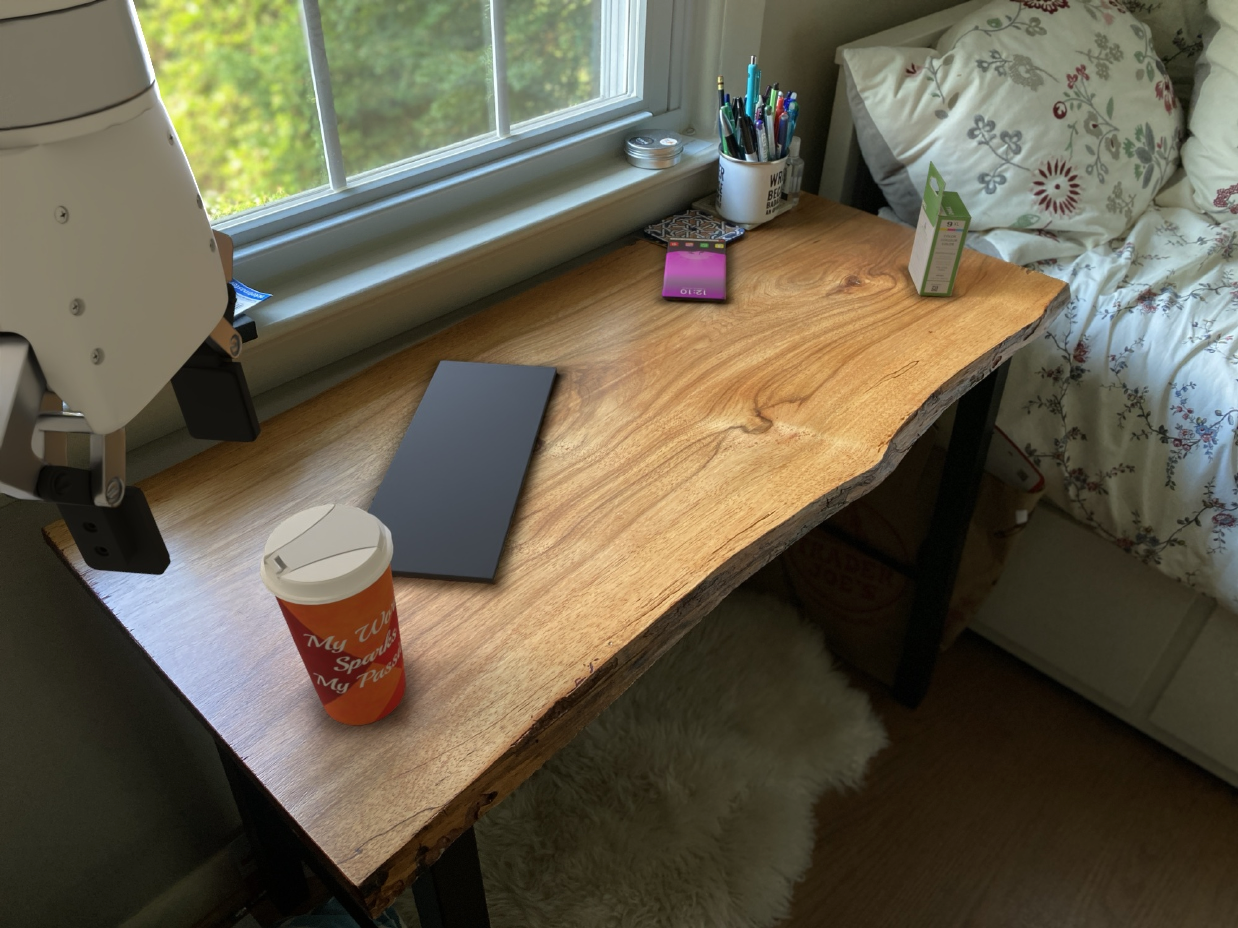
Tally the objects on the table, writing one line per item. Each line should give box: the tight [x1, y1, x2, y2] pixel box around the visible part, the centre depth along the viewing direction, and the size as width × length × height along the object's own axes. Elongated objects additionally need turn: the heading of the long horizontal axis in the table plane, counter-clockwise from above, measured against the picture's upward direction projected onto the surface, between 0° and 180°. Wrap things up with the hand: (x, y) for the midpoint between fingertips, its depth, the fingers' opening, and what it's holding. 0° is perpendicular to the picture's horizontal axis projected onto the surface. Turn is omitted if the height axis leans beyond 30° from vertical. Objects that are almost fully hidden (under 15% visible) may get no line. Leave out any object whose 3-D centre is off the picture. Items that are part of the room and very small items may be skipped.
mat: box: [366, 360, 558, 585], centre depth 83 cm, size 30×12×1 cm, turn 174°
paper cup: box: [259, 503, 407, 726], centre depth 59 cm, size 8×8×14 cm
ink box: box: [907, 160, 972, 298], centre depth 105 cm, size 7×4×13 cm, turn 177°
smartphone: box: [661, 236, 727, 303], centre depth 111 cm, size 7×15×1 cm, turn 175°
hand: (182, 495), depth 39 cm, fingers open, 7 cm apart
